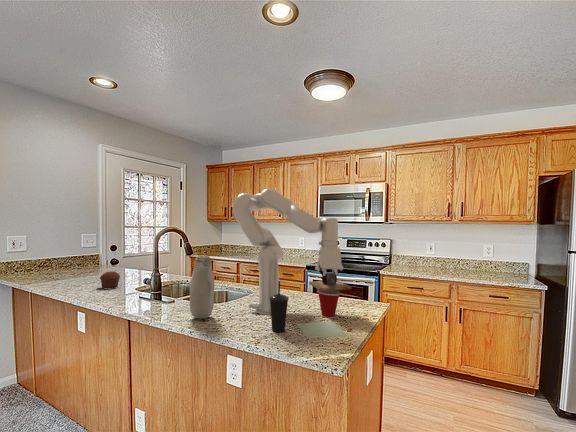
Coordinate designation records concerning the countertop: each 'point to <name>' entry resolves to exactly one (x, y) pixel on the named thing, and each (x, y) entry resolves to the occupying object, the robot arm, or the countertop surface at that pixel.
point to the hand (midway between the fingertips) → (329, 283)
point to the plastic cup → (328, 302)
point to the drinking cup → (278, 311)
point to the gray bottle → (202, 288)
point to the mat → (321, 329)
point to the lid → (329, 283)
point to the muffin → (110, 279)
